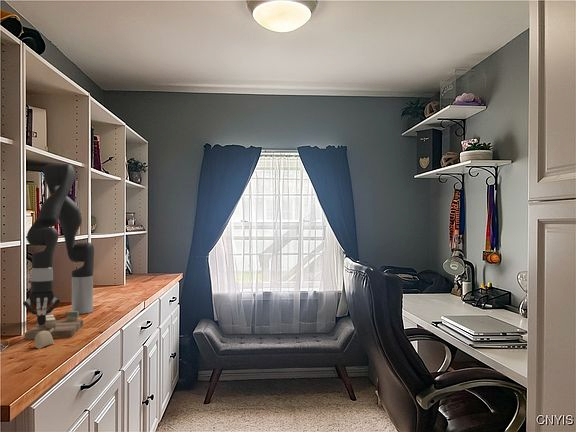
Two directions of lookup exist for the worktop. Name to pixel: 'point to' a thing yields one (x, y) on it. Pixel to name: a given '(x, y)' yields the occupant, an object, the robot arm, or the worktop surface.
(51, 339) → the decorative ornament
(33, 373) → the worktop surface
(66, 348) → the worktop surface
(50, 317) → the ash leg
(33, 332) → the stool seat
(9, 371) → the worktop surface
